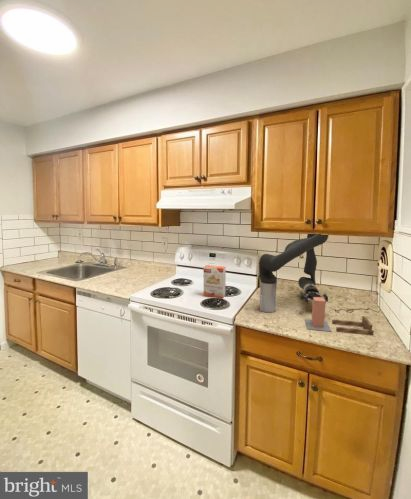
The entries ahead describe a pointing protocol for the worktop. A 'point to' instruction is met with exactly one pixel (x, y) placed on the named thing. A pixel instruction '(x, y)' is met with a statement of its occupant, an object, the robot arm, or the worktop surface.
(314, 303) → the red block
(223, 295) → the cracker box
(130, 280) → the worktop surface
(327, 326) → the mat
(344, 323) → the frame
